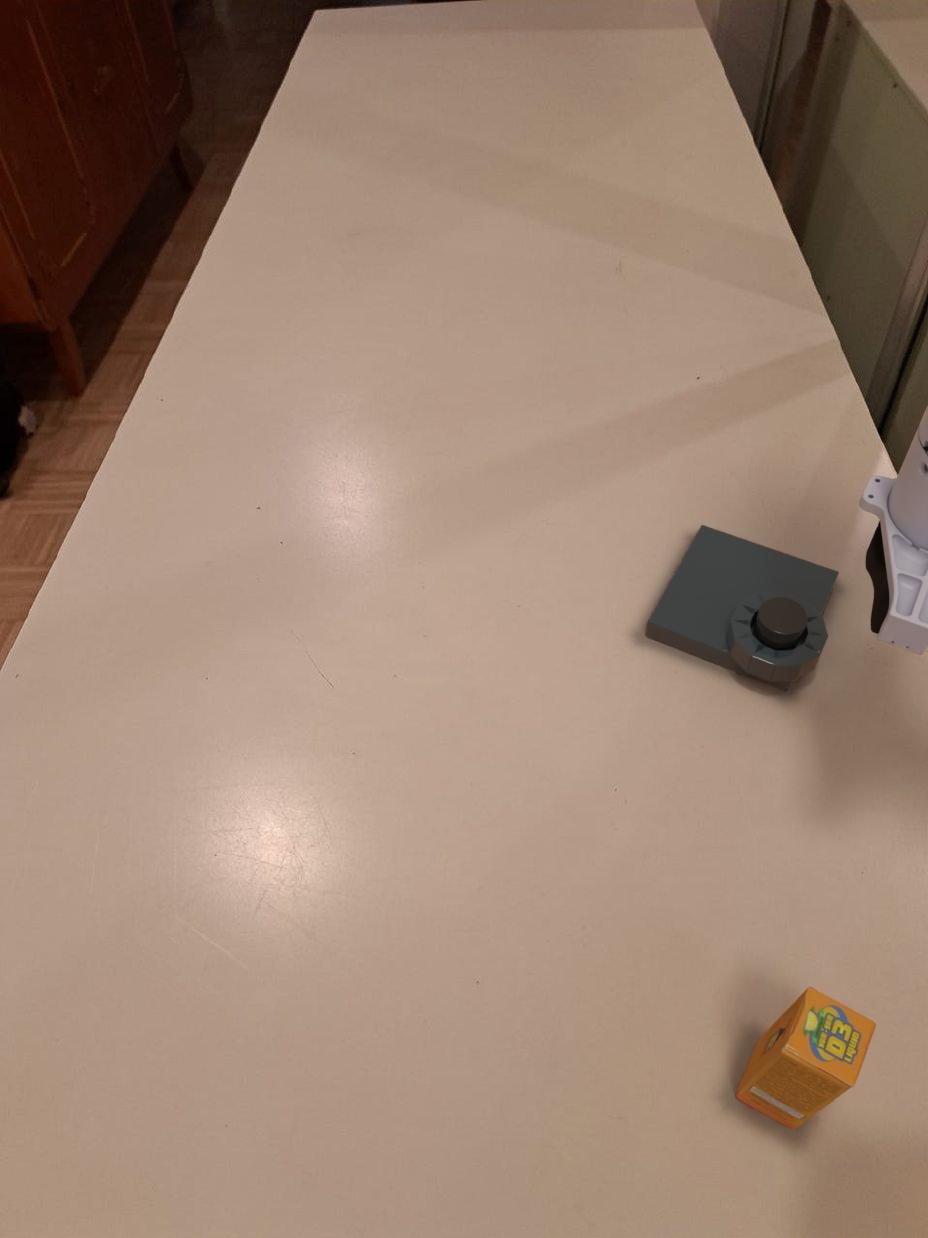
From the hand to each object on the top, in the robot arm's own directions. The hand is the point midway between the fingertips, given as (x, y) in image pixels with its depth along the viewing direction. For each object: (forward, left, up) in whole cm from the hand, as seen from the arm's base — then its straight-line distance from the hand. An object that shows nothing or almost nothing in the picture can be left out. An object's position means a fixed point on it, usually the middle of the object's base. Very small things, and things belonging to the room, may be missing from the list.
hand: (892, 629), depth 52 cm
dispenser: (+9, -6, -10) cm, 15 cm away
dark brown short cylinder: (+6, -3, -7) cm, 10 cm away
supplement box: (-3, +22, -11) cm, 25 cm away
